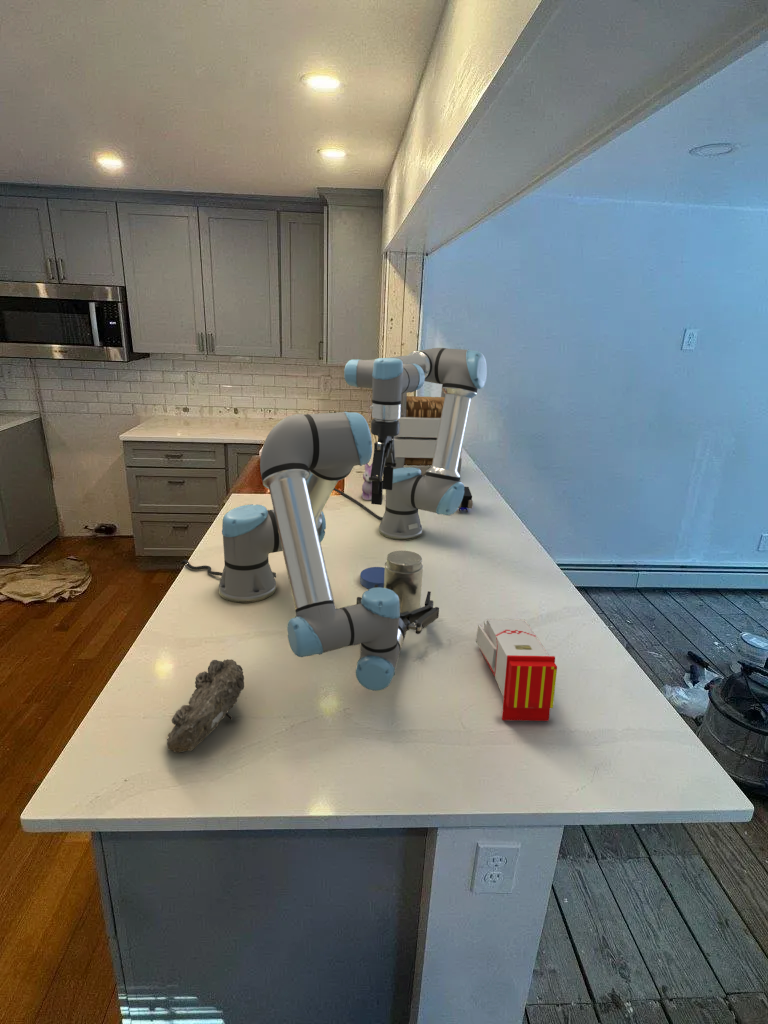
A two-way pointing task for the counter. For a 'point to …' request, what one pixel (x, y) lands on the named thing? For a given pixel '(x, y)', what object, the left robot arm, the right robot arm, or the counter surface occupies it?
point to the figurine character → (466, 500)
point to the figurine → (367, 483)
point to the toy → (519, 668)
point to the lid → (372, 577)
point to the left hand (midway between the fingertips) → (402, 592)
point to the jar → (404, 578)
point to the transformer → (418, 431)
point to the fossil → (206, 705)
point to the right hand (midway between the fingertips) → (382, 496)
